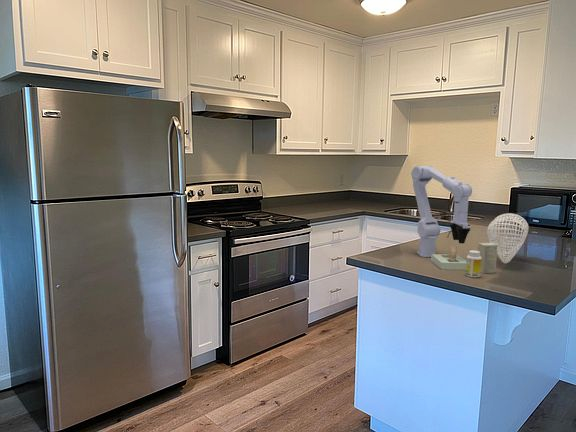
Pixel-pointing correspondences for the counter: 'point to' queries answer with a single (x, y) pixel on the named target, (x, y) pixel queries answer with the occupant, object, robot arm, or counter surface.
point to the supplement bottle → (473, 264)
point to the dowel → (452, 254)
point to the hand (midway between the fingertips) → (458, 241)
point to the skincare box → (488, 257)
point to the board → (444, 263)
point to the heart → (517, 247)
